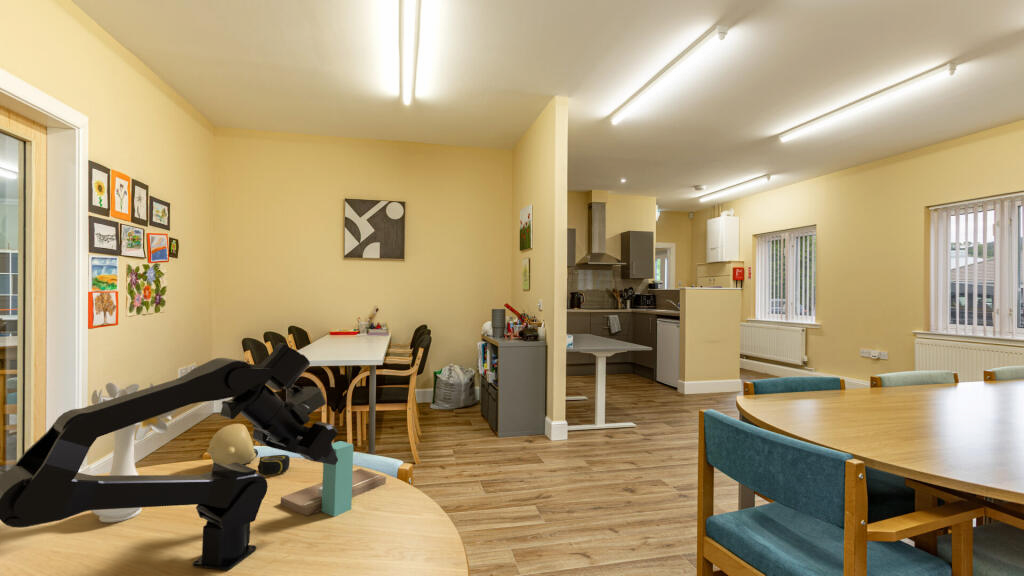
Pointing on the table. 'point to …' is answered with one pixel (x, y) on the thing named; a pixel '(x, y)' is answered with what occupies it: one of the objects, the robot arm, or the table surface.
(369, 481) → the board
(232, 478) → the robot arm
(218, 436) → the toy pig
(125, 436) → the flower vase
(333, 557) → the table surface
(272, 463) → the tape measure
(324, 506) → the teal rectangular block
